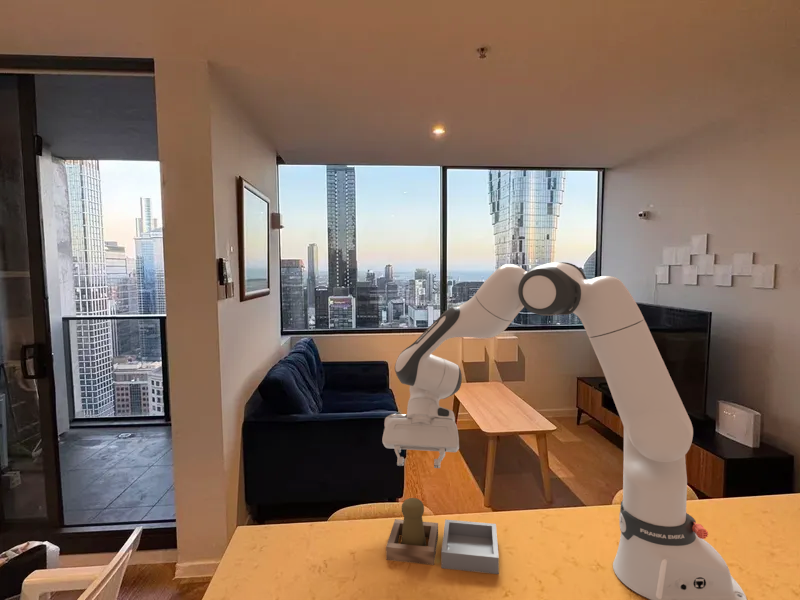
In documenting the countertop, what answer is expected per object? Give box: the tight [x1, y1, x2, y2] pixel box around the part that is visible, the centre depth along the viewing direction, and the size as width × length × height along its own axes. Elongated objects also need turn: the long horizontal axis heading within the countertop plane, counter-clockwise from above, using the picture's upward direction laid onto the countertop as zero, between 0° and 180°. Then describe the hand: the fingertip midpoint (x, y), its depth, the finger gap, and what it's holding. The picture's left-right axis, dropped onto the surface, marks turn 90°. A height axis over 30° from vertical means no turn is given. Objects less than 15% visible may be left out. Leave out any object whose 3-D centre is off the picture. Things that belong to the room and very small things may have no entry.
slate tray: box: [440, 519, 500, 575], centre depth 95 cm, size 12×12×4 cm
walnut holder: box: [385, 518, 439, 566], centre depth 97 cm, size 11×11×3 cm
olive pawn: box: [400, 497, 427, 546], centre depth 97 cm, size 6×6×11 cm
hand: (418, 466), depth 106 cm, fingers open, 8 cm apart
